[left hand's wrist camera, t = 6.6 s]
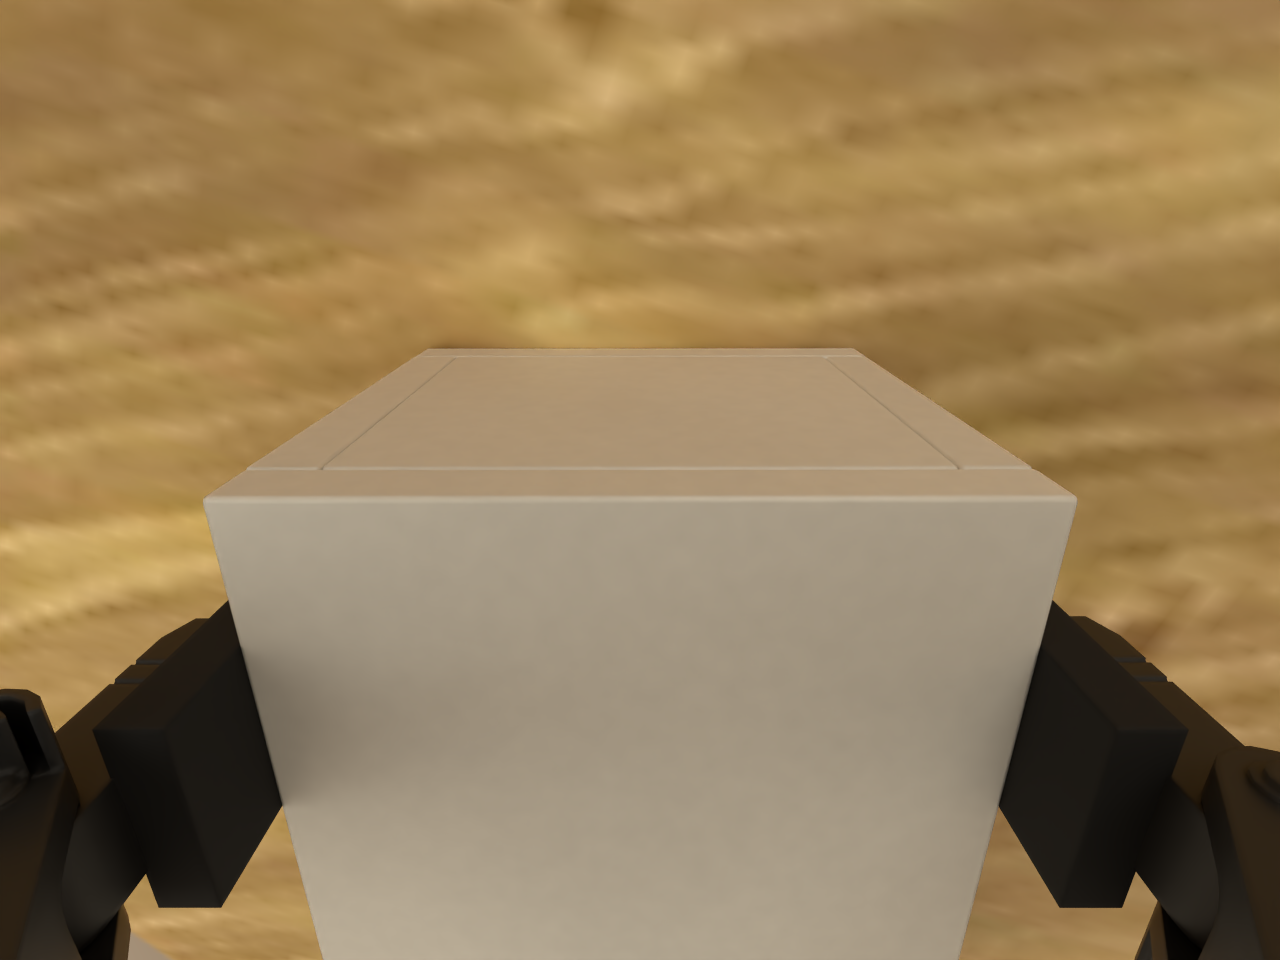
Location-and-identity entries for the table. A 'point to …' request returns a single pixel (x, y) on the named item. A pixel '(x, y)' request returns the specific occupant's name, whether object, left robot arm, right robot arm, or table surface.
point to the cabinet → (640, 654)
